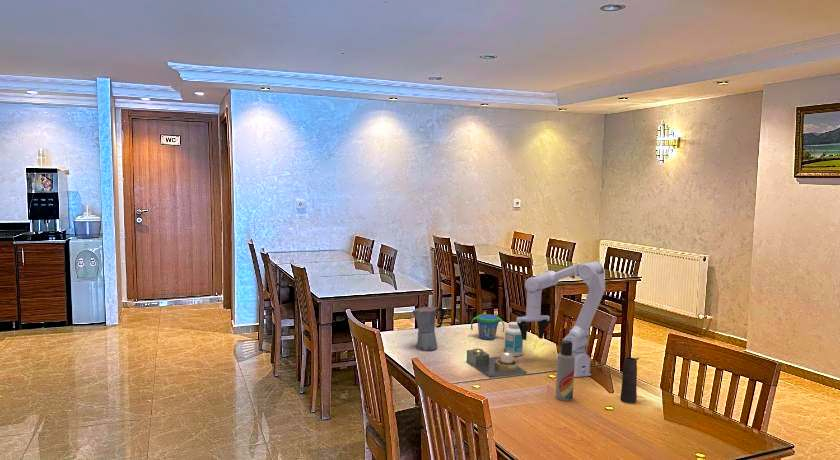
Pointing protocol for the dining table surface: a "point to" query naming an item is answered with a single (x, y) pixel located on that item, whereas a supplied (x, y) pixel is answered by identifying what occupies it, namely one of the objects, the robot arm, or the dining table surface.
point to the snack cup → (487, 325)
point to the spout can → (506, 357)
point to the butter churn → (629, 377)
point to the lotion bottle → (565, 372)
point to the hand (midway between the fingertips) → (532, 338)
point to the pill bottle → (513, 339)
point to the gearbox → (492, 364)
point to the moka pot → (427, 326)
